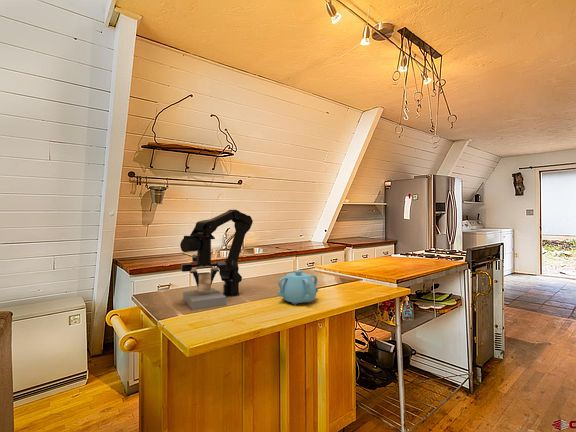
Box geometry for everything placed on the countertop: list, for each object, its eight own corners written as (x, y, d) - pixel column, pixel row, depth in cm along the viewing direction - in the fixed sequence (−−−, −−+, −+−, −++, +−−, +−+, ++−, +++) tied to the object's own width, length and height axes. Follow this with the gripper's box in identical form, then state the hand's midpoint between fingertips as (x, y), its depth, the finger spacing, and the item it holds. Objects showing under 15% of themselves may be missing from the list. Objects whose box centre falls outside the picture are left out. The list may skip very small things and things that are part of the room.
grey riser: (213, 296, 148) (213, 288, 148) (226, 306, 133) (226, 296, 133) (183, 300, 142) (183, 291, 141) (192, 311, 126) (192, 301, 126)
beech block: (209, 287, 140) (209, 272, 140) (210, 290, 136) (210, 274, 136) (197, 288, 138) (197, 272, 138) (198, 291, 134) (198, 274, 134)
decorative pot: (272, 303, 137) (273, 271, 137) (290, 294, 151) (290, 266, 151) (307, 308, 129) (307, 275, 129) (322, 299, 143) (322, 269, 143)
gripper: (222, 247, 148) (222, 280, 148) (180, 249, 141) (180, 284, 141) (227, 250, 138) (227, 285, 138) (182, 251, 131) (182, 289, 131)
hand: (204, 286), depth 137 cm, fingers closed on beech block, 5 cm apart
